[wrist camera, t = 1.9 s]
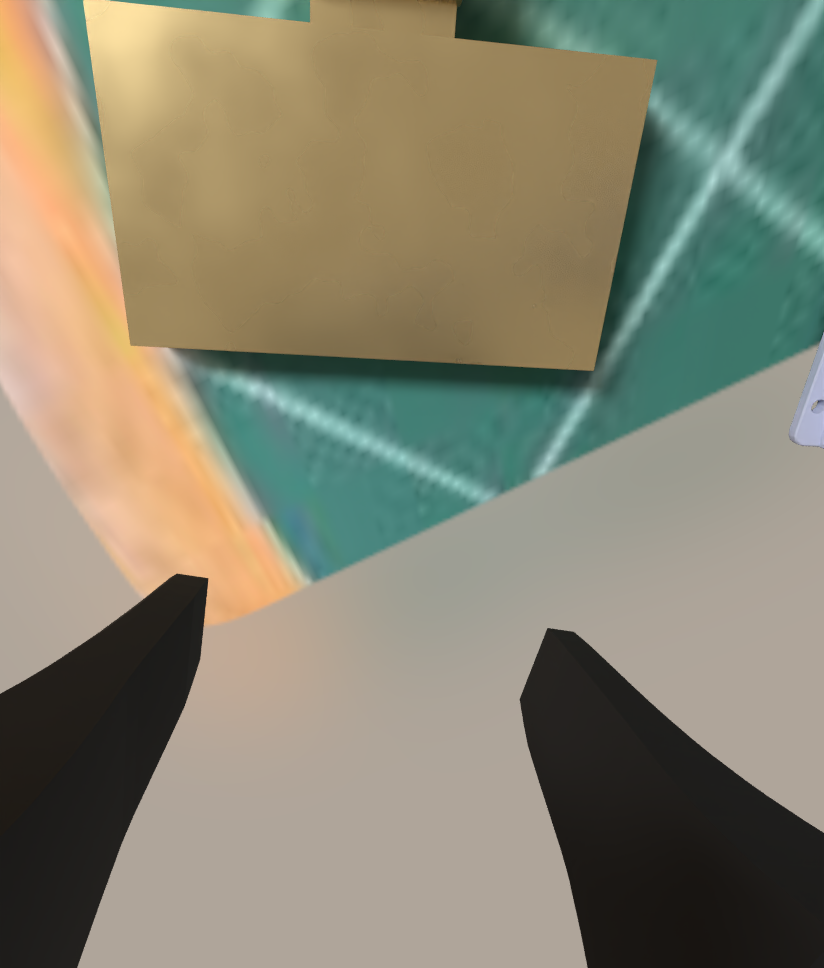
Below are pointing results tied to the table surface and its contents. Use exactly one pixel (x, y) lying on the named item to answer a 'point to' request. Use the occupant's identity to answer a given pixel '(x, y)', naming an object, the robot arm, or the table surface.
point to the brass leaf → (363, 183)
